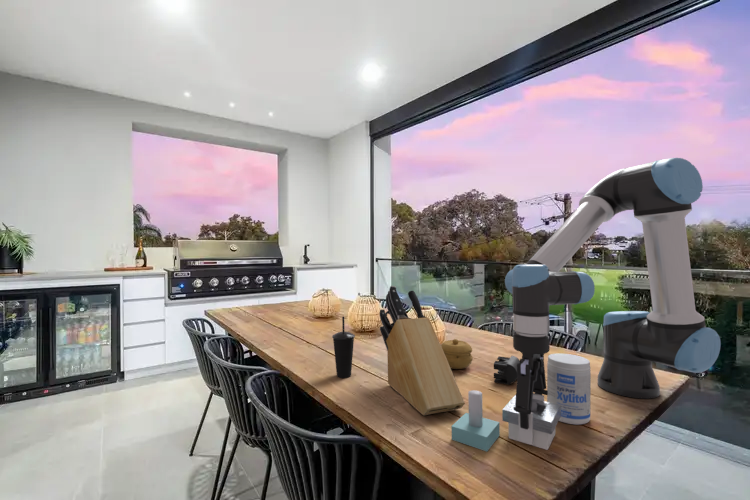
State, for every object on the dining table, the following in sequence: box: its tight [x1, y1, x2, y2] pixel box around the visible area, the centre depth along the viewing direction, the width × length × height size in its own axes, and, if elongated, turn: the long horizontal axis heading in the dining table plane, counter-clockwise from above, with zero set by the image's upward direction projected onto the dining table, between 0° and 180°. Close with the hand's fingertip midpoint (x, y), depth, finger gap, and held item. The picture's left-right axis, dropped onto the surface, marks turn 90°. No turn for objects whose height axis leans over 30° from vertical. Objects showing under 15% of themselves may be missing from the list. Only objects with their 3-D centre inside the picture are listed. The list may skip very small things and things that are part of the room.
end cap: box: [493, 355, 520, 386], centre depth 114 cm, size 10×7×7 cm
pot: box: [440, 338, 474, 370], centre depth 127 cm, size 12×12×10 cm
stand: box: [507, 399, 556, 451], centre depth 80 cm, size 8×8×8 cm
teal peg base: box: [451, 390, 501, 452], centre depth 79 cm, size 8×8×10 cm
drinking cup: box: [331, 316, 356, 379], centre depth 120 cm, size 8×8×20 cm
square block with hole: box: [501, 394, 561, 434], centre depth 80 cm, size 10×10×2 cm
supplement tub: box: [546, 352, 592, 426], centre depth 89 cm, size 10×10×15 cm
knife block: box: [379, 285, 466, 416], centre depth 105 cm, size 11×35×31 cm, turn 20°
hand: (532, 431), depth 80 cm, fingers closed on square block with hole, 10 cm apart
